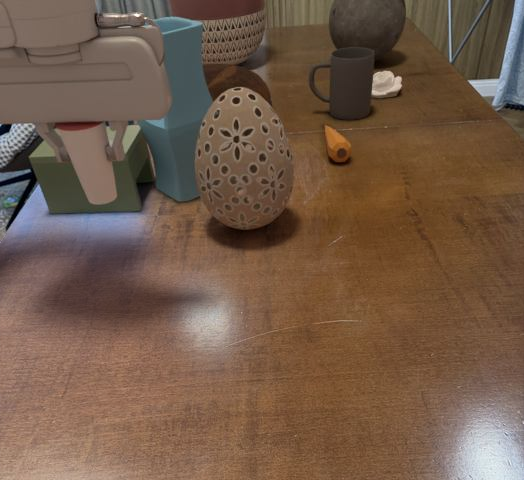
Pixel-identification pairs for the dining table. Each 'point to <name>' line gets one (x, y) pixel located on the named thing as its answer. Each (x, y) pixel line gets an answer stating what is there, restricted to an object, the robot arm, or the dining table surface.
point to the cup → (90, 158)
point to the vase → (179, 110)
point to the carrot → (337, 145)
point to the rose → (385, 84)
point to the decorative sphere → (367, 24)
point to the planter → (225, 27)
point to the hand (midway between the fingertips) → (91, 159)
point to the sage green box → (68, 184)
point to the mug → (348, 82)
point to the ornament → (243, 161)
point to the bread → (233, 80)
